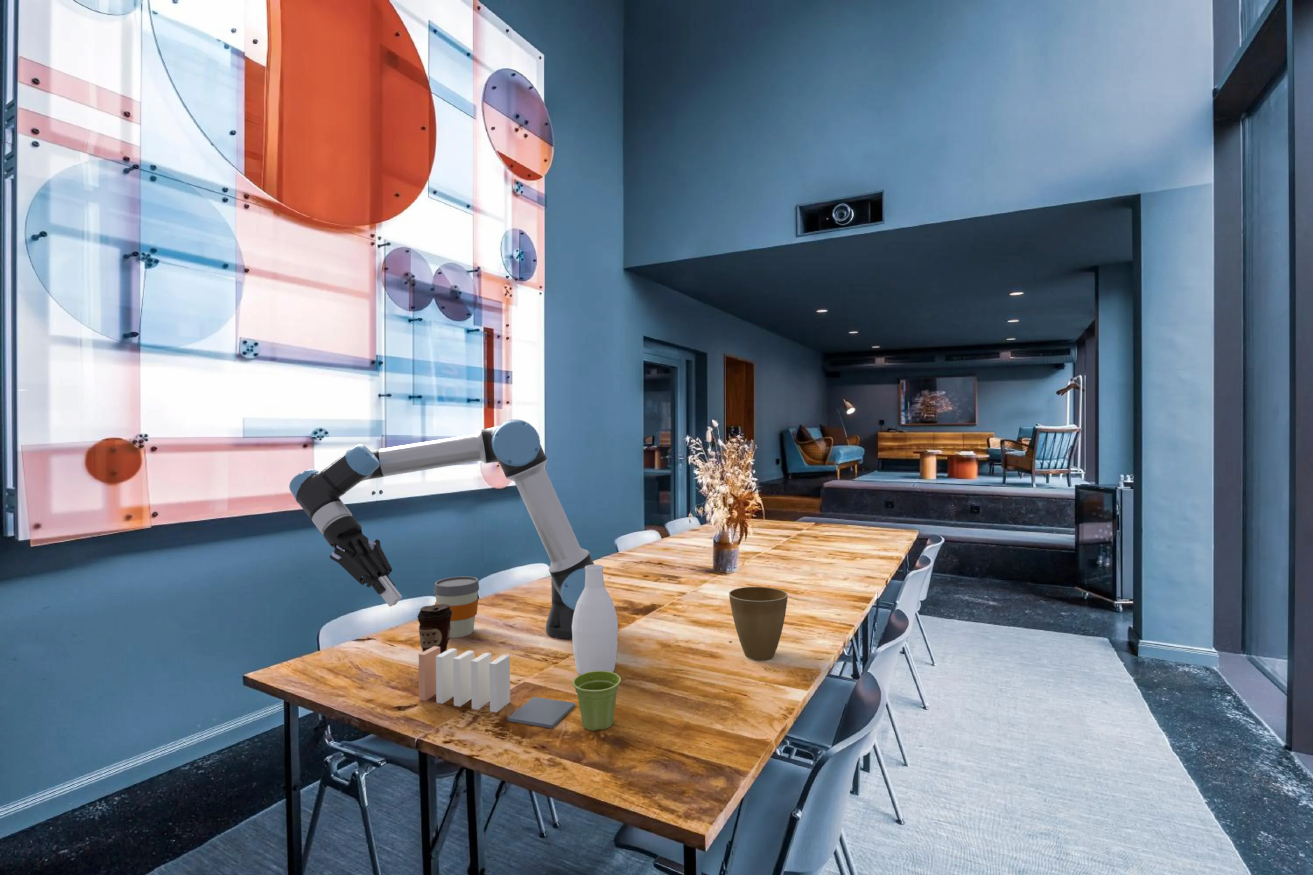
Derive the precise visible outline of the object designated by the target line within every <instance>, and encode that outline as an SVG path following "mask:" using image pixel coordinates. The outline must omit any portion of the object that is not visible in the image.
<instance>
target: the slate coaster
mask: <svg viewBox="0 0 1313 875" xmlns="http://www.w3.org/2000/svg"><path fill="white" fill-rule="evenodd" d="M574 706H576V702H574V701H573V702H571V701H567V700H559V699H551V698H545V697H538V696H532V697H531V698H530V699H529V700H528V701H526V702H525V703H524V704H523V705H522V706H520V707H519V708H518V709H517V710H516V711H514V712H513V713H512V714H510V715H508V717H507V721H508V722H513V723H516V724H517V723H520V724H524V725H530V726H537V727H543V728H549V729H553V728H554V727H555V726H556V725H557V724H558V723H559V722H561V720H562V719H563V718H564V717H566V716H567V715H568V714H569V712H570V711H572V709H573V708H575V707H574Z"/></svg>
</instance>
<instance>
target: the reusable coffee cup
mask: <svg viewBox="0 0 1313 875" xmlns="http://www.w3.org/2000/svg"><path fill="white" fill-rule="evenodd" d="M479 590H480V582H479V579H478V578H477V577H475V576H466V575H465V576H464V575H462V576H453V577H446V578H442V579H439V580H437V581H436V582H434V590H433V594H434V595H435V602H434V603H435V604H434V605H439V604H446V605H449V606H450V607H449V608H450V610H452V616H451V621H450V626H451V630H450V639H451V638H452V639H453V638H462V637H463V638H464V637H466V636H469V635H471V634H472V633H474V629H475V628H474V627H475V620H476V615H477V614H478V608H479V607H478V606H479V597H478V592H479Z"/></svg>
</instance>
